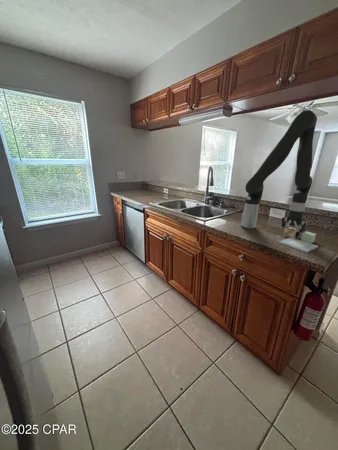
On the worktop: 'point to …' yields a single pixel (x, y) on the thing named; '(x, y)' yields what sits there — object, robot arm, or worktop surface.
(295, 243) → the board
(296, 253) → the worktop surface
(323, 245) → the worktop surface
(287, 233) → the maple block
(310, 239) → the sage block
